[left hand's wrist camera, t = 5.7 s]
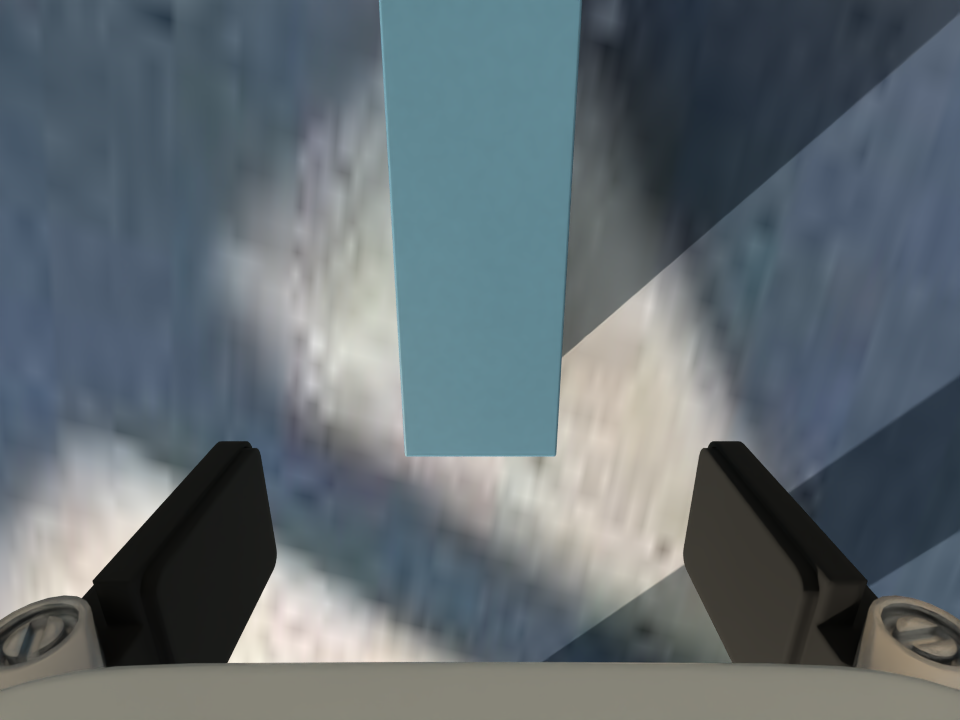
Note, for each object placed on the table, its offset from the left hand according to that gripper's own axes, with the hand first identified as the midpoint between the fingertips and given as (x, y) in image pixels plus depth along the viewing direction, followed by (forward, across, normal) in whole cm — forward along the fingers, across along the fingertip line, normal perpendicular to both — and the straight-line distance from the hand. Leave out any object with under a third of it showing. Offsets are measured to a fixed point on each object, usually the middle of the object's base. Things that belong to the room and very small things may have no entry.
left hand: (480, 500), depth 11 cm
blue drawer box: (+17, 0, -4) cm, 17 cm away
